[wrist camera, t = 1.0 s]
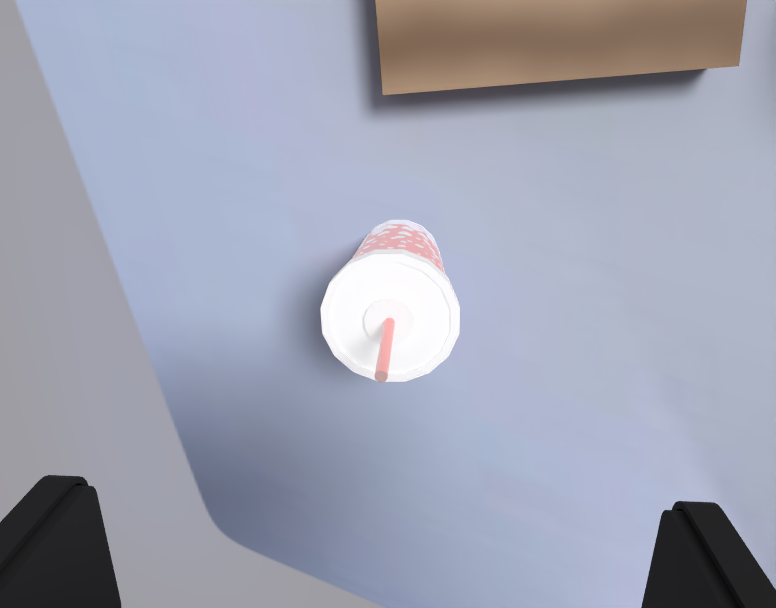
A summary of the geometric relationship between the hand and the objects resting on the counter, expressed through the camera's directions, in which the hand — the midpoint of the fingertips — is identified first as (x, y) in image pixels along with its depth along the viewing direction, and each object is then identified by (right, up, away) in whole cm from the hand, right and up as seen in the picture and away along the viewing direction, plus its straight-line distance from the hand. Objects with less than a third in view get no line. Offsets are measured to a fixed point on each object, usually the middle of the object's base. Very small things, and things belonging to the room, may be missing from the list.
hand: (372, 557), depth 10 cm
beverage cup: (+1, +7, +25) cm, 25 cm away
